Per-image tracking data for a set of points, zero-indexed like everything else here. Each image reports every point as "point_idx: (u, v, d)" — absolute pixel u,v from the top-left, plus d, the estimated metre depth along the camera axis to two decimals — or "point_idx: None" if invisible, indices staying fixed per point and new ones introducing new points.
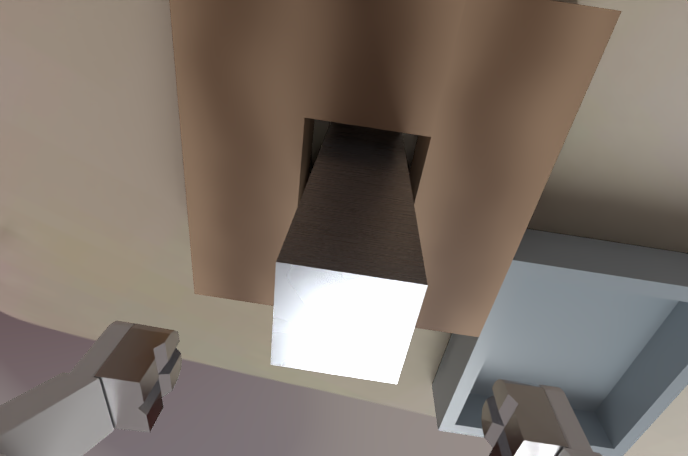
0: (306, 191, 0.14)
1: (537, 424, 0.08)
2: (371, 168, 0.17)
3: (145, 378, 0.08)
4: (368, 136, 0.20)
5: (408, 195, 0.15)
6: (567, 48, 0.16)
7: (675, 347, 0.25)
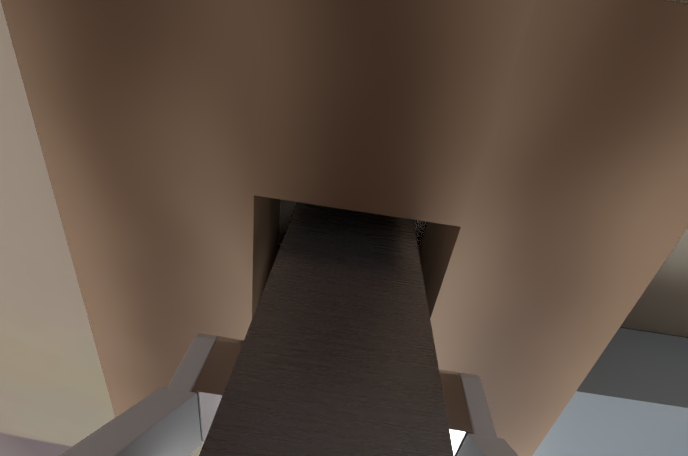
0: (228, 395, 0.07)
1: None
2: (362, 299, 0.09)
3: None
4: (360, 212, 0.13)
5: (433, 381, 0.08)
6: None
7: None
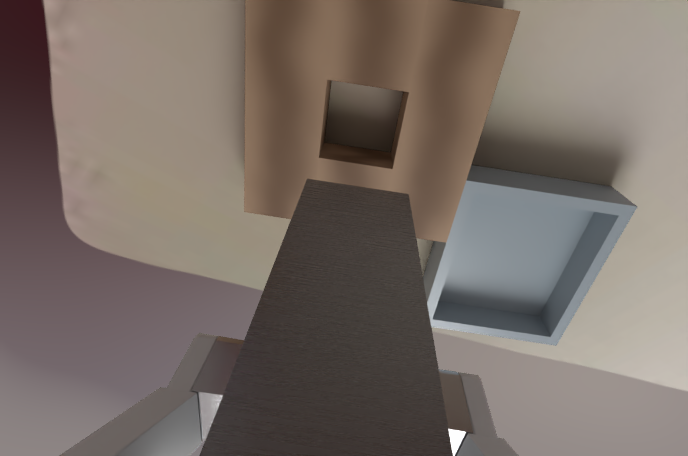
0: (228, 396, 0.07)
1: None
2: (362, 299, 0.09)
3: None
4: (360, 212, 0.13)
5: (432, 381, 0.08)
6: (490, 33, 0.26)
7: (587, 251, 0.35)
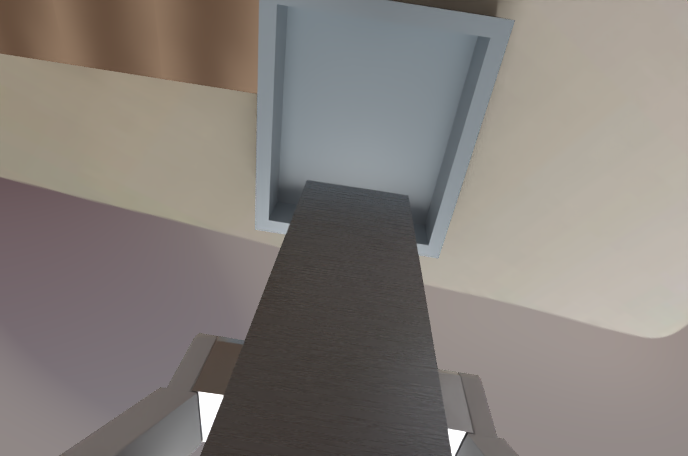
0: (227, 399, 0.07)
1: (445, 410, 0.08)
2: (362, 301, 0.09)
3: None
4: (360, 214, 0.13)
5: (432, 384, 0.08)
6: None
7: (462, 112, 0.25)
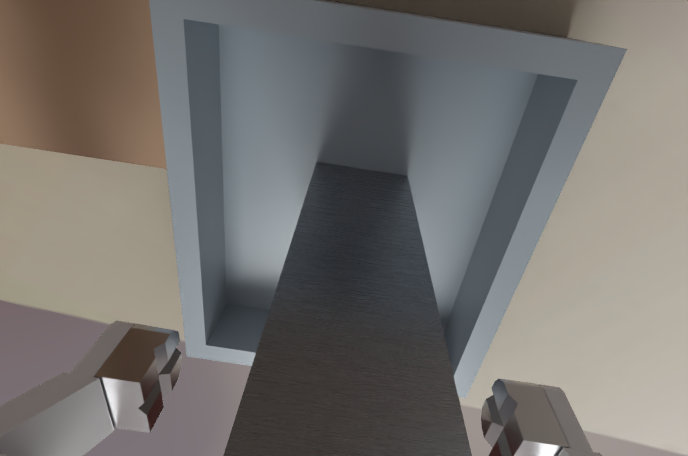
0: (270, 322, 0.08)
1: (537, 424, 0.08)
2: (372, 256, 0.11)
3: (145, 378, 0.08)
4: (366, 190, 0.15)
5: (432, 315, 0.09)
6: None
7: (512, 194, 0.15)
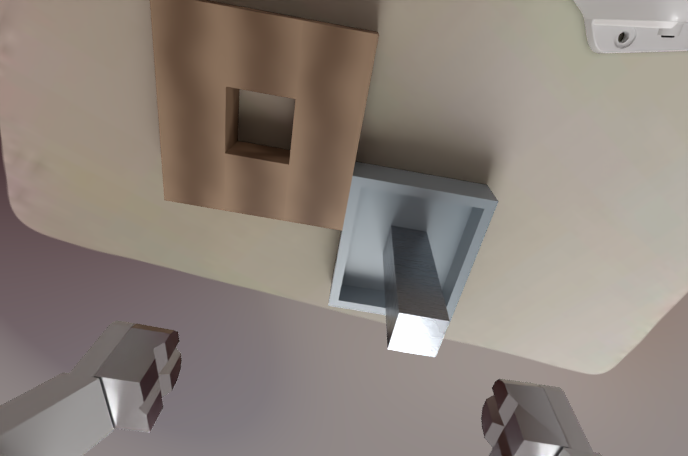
0: (396, 278, 0.34)
1: (537, 424, 0.08)
2: (418, 263, 0.36)
3: (145, 378, 0.08)
4: (412, 238, 0.40)
5: (437, 279, 0.35)
6: (356, 52, 0.31)
7: (466, 241, 0.41)
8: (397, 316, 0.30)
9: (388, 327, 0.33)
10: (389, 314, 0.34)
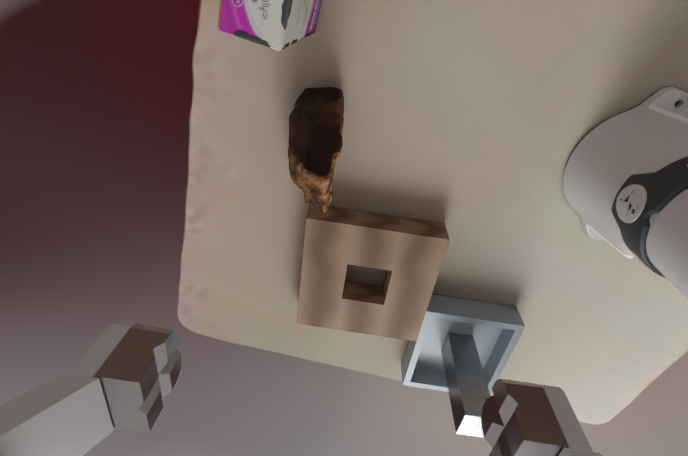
0: (459, 385, 0.52)
1: (537, 424, 0.08)
2: (471, 368, 0.55)
3: (145, 378, 0.08)
4: (464, 344, 0.58)
5: (485, 383, 0.53)
6: (434, 248, 0.49)
7: (502, 345, 0.58)
8: (463, 416, 0.49)
9: (455, 417, 0.51)
10: (455, 407, 0.52)
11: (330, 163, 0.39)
